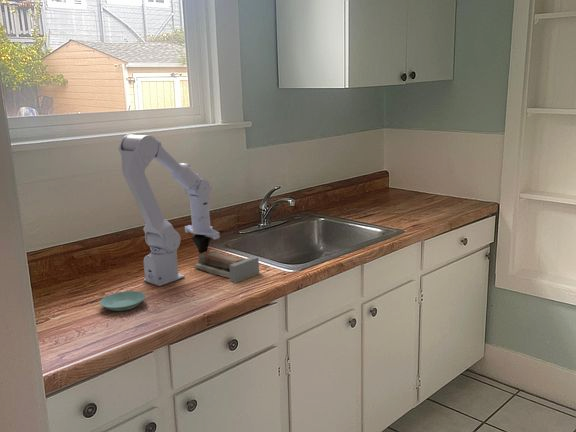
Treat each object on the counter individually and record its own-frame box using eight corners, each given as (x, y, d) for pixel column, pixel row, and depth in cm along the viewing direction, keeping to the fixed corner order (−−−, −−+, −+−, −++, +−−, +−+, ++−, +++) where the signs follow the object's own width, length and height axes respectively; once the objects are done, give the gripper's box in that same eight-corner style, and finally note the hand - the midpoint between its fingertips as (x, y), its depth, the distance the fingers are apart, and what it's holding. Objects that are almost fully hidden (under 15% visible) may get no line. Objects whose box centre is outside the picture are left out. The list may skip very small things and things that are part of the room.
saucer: (93, 315, 151) (92, 307, 150) (110, 298, 162) (109, 291, 162) (138, 315, 150) (137, 306, 149) (151, 297, 161) (150, 290, 161)
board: (235, 282, 170) (234, 266, 169) (230, 281, 171) (229, 265, 170) (259, 273, 177) (258, 257, 176) (254, 271, 178) (253, 256, 177)
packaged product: (192, 253, 182) (216, 246, 189) (193, 268, 183) (217, 260, 191) (231, 264, 171) (255, 256, 178) (232, 280, 172) (256, 271, 179)
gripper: (225, 216, 181) (228, 257, 184) (195, 209, 190) (198, 249, 194) (208, 221, 176) (211, 263, 179) (178, 214, 185) (182, 255, 189)
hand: (203, 256), depth 186 cm, fingers closed, pressing on packaged product
